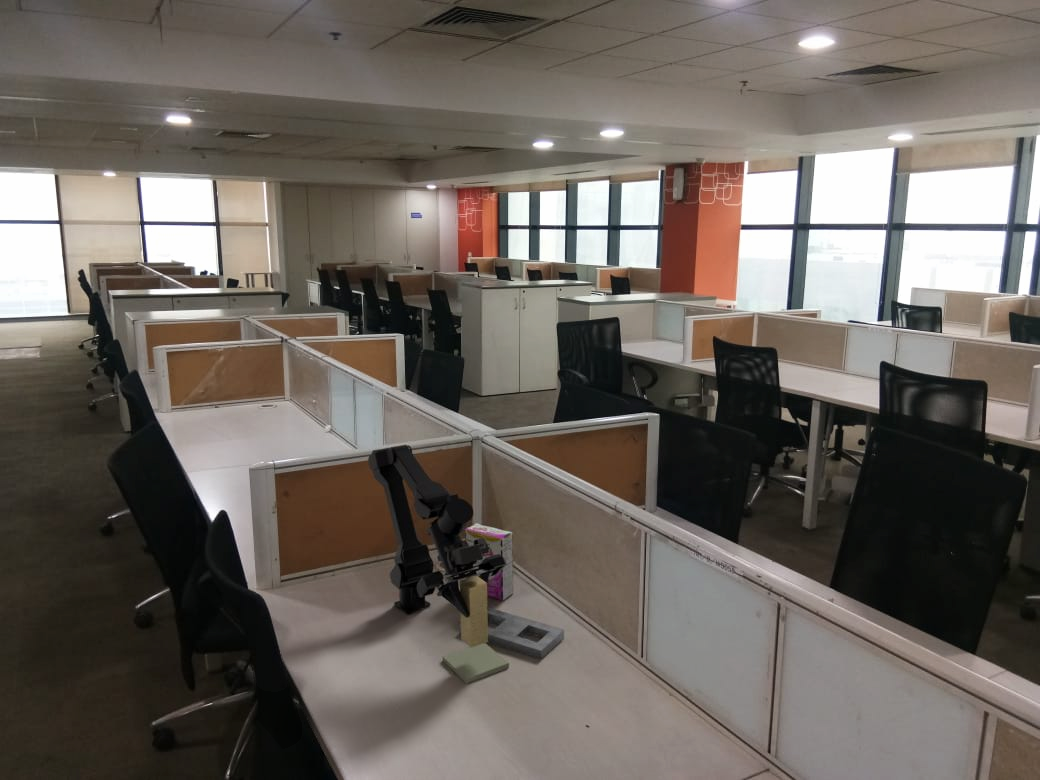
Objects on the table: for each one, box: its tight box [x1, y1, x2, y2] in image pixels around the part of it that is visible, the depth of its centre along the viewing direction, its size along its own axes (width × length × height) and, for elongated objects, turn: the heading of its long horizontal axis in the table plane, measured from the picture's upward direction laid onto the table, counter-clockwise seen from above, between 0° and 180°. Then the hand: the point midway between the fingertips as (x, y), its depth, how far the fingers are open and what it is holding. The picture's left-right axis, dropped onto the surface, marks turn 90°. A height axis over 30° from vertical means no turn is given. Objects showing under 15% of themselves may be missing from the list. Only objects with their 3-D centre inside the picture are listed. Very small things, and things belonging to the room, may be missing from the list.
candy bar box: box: [464, 523, 514, 602], centre depth 189 cm, size 11×5×16 cm, turn 58°
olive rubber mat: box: [442, 642, 510, 684], centre depth 159 cm, size 10×10×1 cm
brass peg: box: [459, 576, 489, 648], centre depth 157 cm, size 4×4×13 cm
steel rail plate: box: [458, 606, 565, 660], centre depth 170 cm, size 21×10×2 cm, turn 59°
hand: (477, 613), depth 156 cm, fingers closed on brass peg, 4 cm apart
